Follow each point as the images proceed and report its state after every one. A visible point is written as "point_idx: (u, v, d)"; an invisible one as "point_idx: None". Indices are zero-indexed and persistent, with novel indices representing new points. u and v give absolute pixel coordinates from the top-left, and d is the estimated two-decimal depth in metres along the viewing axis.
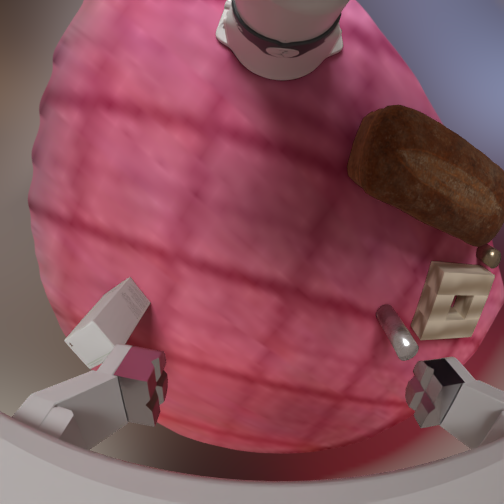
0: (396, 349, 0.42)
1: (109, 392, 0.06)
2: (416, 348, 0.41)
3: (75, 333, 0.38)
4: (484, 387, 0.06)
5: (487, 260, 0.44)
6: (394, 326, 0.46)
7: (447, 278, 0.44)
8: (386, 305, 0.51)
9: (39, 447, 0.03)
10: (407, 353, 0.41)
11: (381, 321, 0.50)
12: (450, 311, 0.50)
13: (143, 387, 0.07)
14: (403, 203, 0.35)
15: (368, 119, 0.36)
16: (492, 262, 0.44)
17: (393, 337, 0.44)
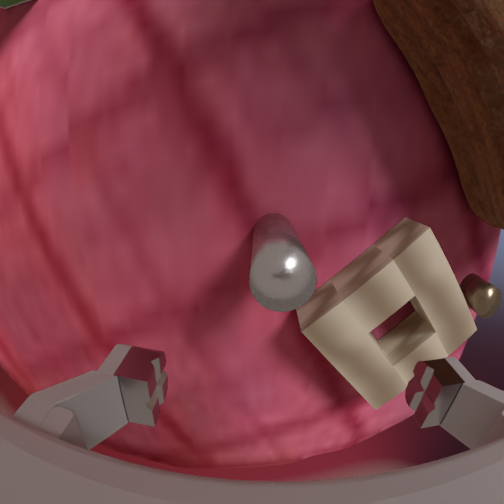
0: (258, 254, 0.17)
1: (109, 392, 0.06)
2: (306, 290, 0.16)
3: None
4: (484, 387, 0.06)
5: (481, 293, 0.25)
6: (283, 229, 0.21)
7: (427, 245, 0.23)
8: (286, 219, 0.27)
9: (39, 447, 0.03)
10: (277, 284, 0.16)
11: (260, 225, 0.25)
12: (374, 338, 0.29)
13: (143, 387, 0.07)
14: (445, 5, 0.12)
15: None
16: (486, 303, 0.25)
17: (267, 237, 0.19)
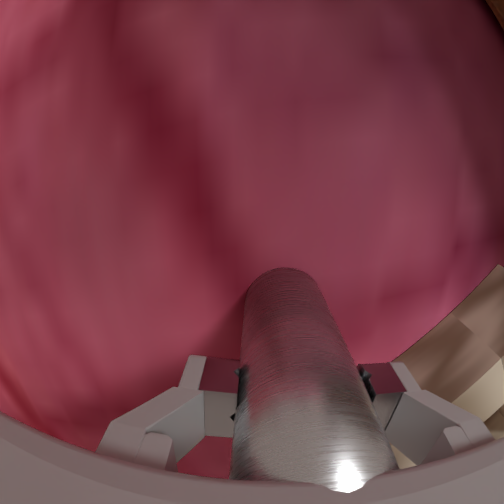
0: None
1: (194, 408, 0.06)
2: None
3: None
4: (429, 398, 0.06)
5: None
6: (323, 356, 0.07)
7: None
8: (311, 279, 0.13)
9: (39, 447, 0.03)
10: None
11: (258, 306, 0.11)
12: None
13: (230, 399, 0.07)
14: None
15: None
16: None
17: (278, 415, 0.05)
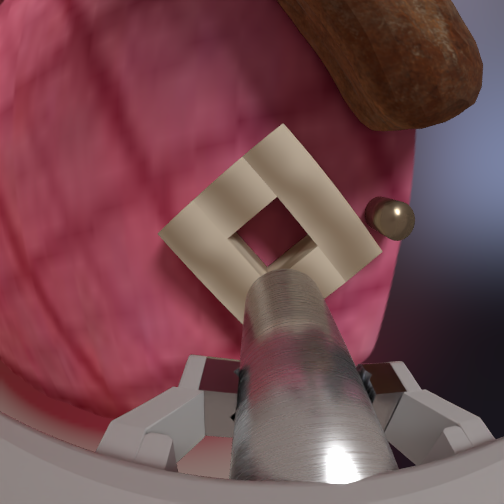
0: None
1: (195, 408, 0.06)
2: None
3: None
4: (429, 398, 0.06)
5: (382, 208, 0.26)
6: (322, 357, 0.07)
7: (283, 142, 0.23)
8: (311, 280, 0.13)
9: (39, 447, 0.03)
10: None
11: (258, 307, 0.11)
12: (254, 258, 0.29)
13: (230, 399, 0.07)
14: None
15: None
16: (390, 221, 0.25)
17: (278, 417, 0.05)
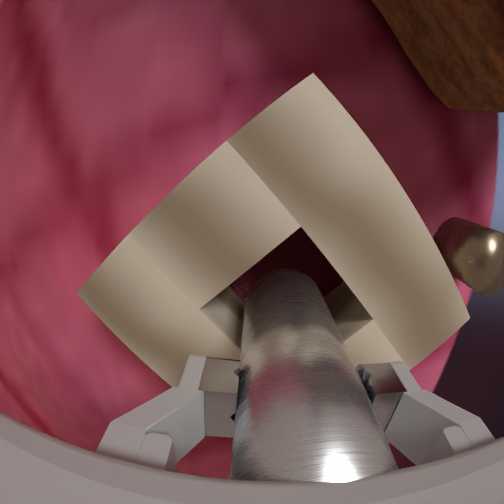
0: None
1: (195, 408, 0.06)
2: None
3: None
4: (429, 398, 0.06)
5: (475, 243, 0.13)
6: (322, 358, 0.07)
7: (313, 110, 0.10)
8: (311, 280, 0.13)
9: (39, 447, 0.03)
10: None
11: (258, 308, 0.11)
12: None
13: (230, 399, 0.07)
14: None
15: None
16: (485, 265, 0.12)
17: (278, 417, 0.05)
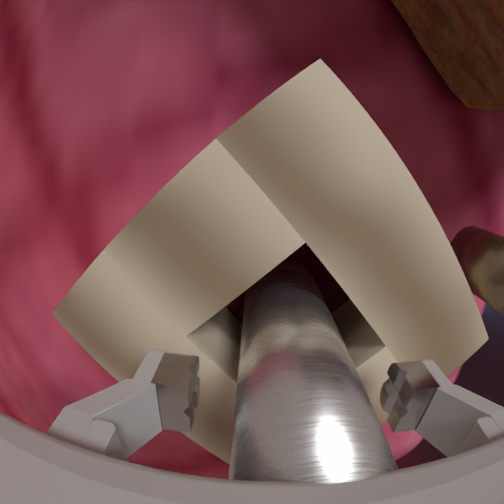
0: (249, 457, 0.05)
1: (146, 400, 0.06)
2: None
3: None
4: (461, 392, 0.06)
5: (496, 256, 0.11)
6: (313, 328, 0.08)
7: (321, 102, 0.08)
8: (305, 269, 0.15)
9: (39, 447, 0.03)
10: None
11: (257, 291, 0.12)
12: None
13: (182, 394, 0.07)
14: None
15: None
16: None
17: (274, 372, 0.07)
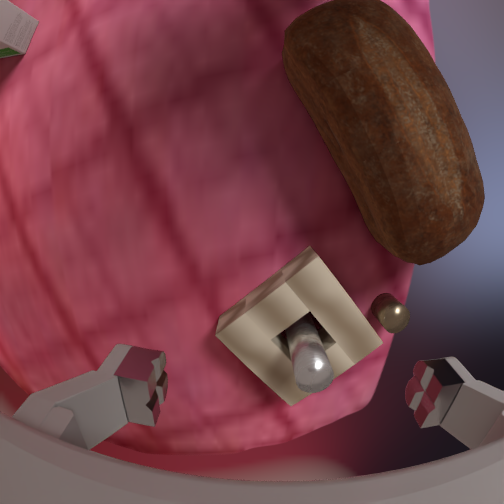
0: (300, 362, 0.27)
1: (109, 392, 0.06)
2: (327, 382, 0.26)
3: None
4: (484, 387, 0.06)
5: (386, 310, 0.33)
6: (311, 335, 0.31)
7: (317, 270, 0.31)
8: (308, 313, 0.37)
9: (39, 447, 0.03)
10: (311, 379, 0.26)
11: None
12: (286, 345, 0.37)
13: (143, 387, 0.07)
14: (322, 71, 0.21)
15: None
16: (391, 320, 0.33)
17: (303, 346, 0.29)
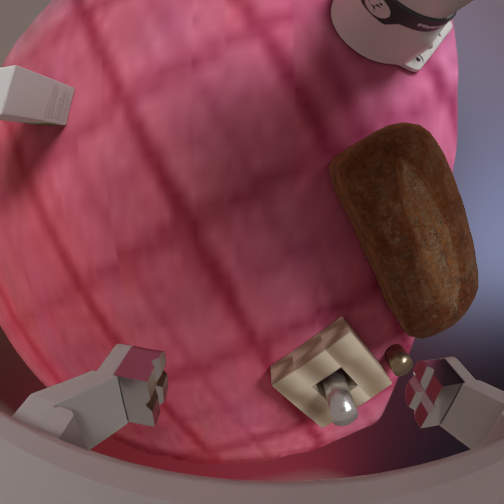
0: (335, 407, 0.36)
1: (109, 392, 0.06)
2: (353, 418, 0.36)
3: None
4: (484, 387, 0.06)
5: (395, 361, 0.42)
6: (342, 385, 0.40)
7: (348, 341, 0.40)
8: None
9: (39, 447, 0.03)
10: (343, 418, 0.35)
11: None
12: (320, 385, 0.46)
13: (143, 387, 0.07)
14: (369, 214, 0.30)
15: None
16: (399, 368, 0.42)
17: (336, 394, 0.38)
